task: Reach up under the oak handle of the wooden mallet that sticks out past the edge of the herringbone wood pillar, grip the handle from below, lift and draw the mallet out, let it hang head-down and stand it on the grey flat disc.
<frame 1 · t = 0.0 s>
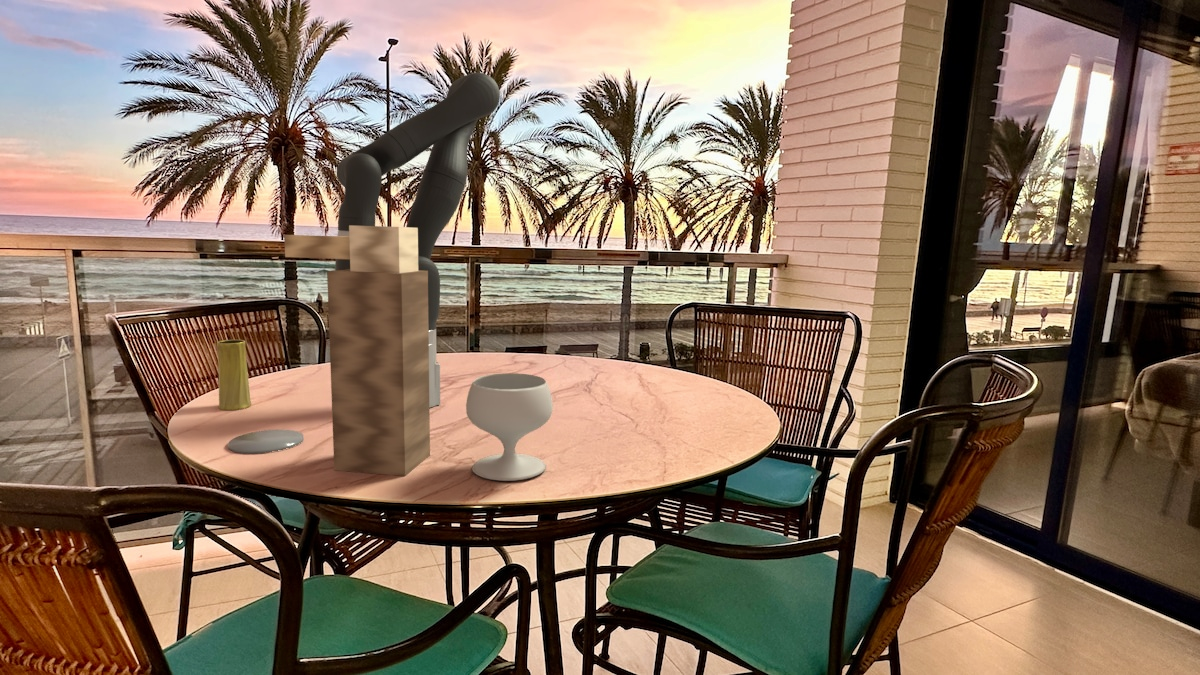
hand: (352, 333, 132), 17 cm above the table, tool pointing down, fingers open, 8 cm apart
mallet: (385, 271, 101), point 32 cm above the table, touching herringbone wood pillar
vase: (235, 407, 137), on the table
herringbone wood pillar: (384, 462, 107), on the table
chalice: (509, 470, 105), on the table
grey flat disc: (266, 442, 115), on the table
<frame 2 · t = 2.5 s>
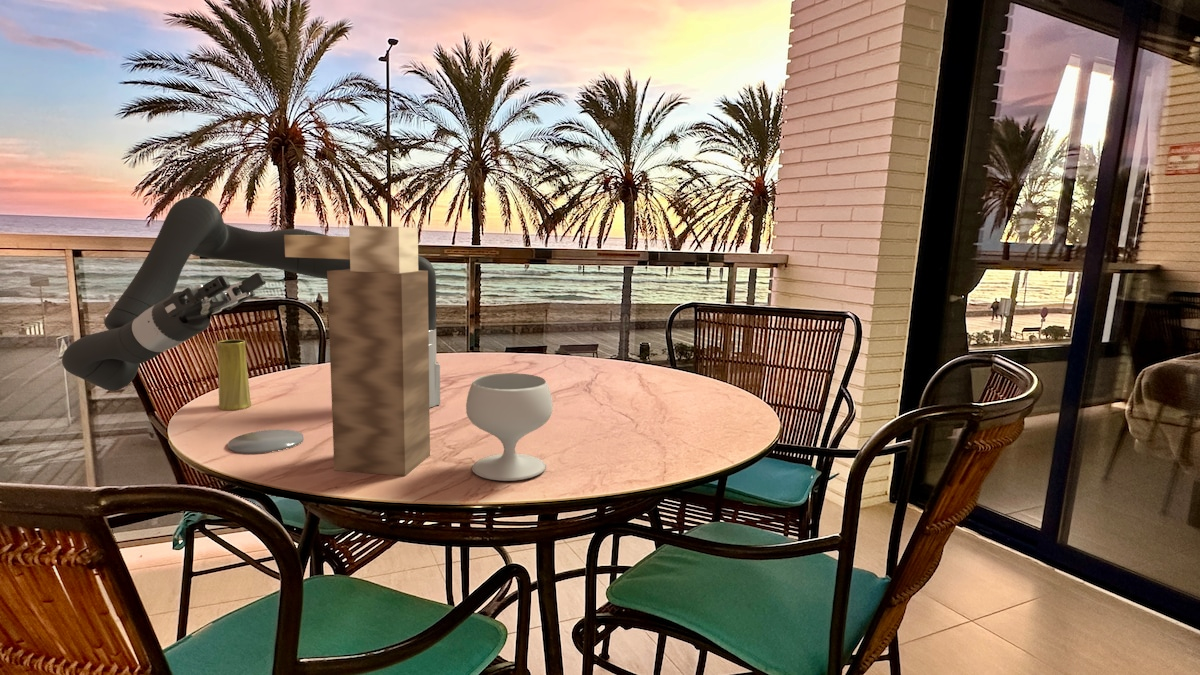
hand: (245, 279, 105), 30 cm above the table, tool pointing upward, fingers open, 8 cm apart
nothing on the table moved.
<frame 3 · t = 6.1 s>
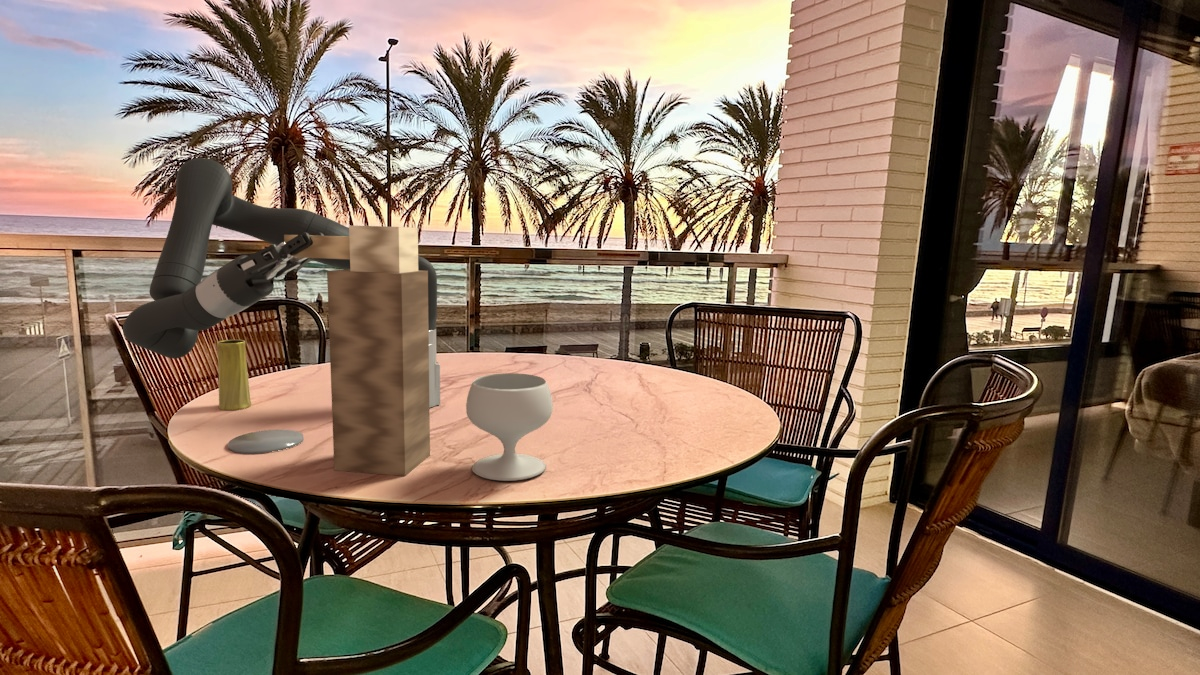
hand: (316, 237, 102), 37 cm above the table, tool pointing upward, fingers closed on mallet, 3 cm apart
mallet: (385, 271, 101), point 32 cm above the table, touching gripper, herringbone wood pillar
everything else where it was.
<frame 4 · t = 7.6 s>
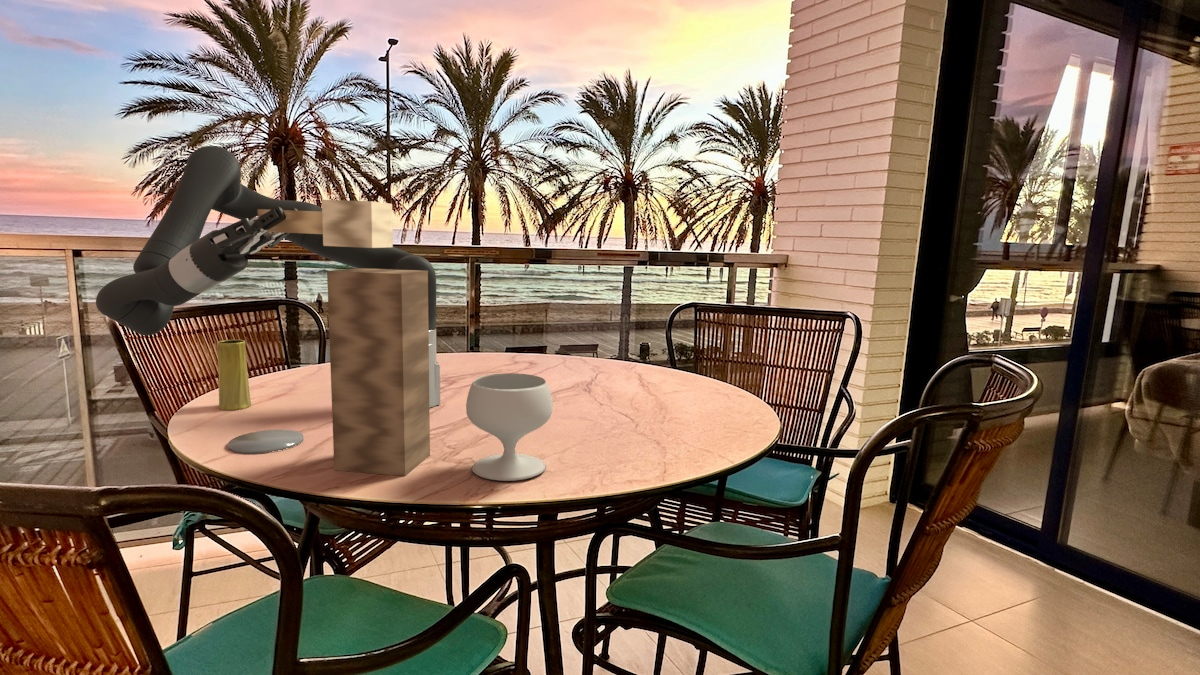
hand: (290, 212, 102), 41 cm above the table, tool pointing upward, fingers closed on mallet, 3 cm apart
mallet: (359, 246, 101), point 36 cm above the table, touching gripper
everything else where it was.
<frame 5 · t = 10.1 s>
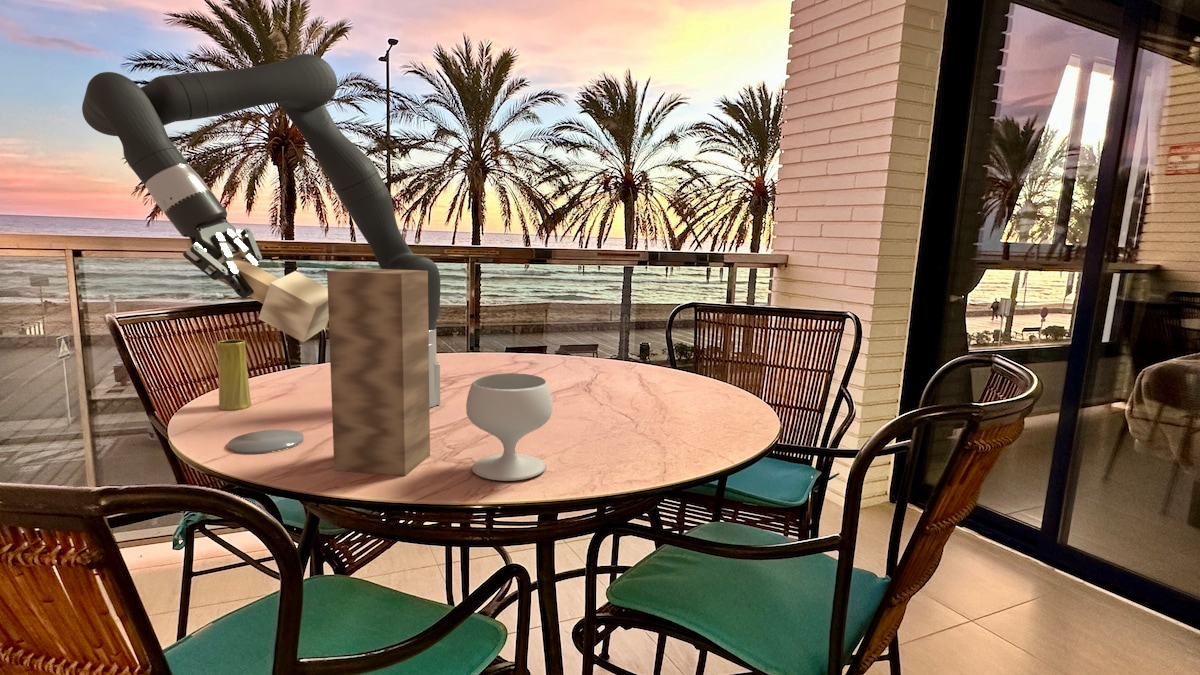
hand: (256, 291, 105), 28 cm above the table, tool tilted 35°, fingers closed on mallet, 3 cm apart
mallet: (293, 323, 106), point 23 cm above the table, tilted 31°, touching gripper
everything else where it was.
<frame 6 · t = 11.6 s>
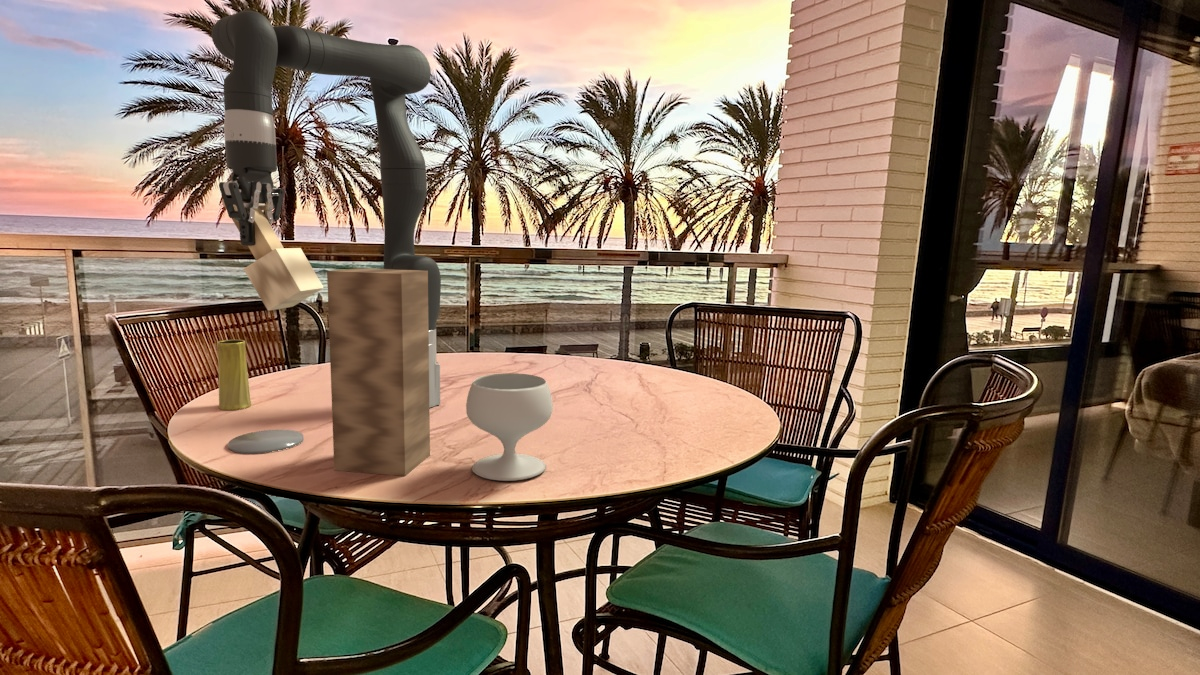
hand: (256, 244, 109), 35 cm above the table, tool pointing down, fingers closed on mallet, 3 cm apart
mallet: (269, 288, 110), point 28 cm above the table, tilted 59°, touching gripper
everything else where it was.
when the fingers open (17 cm above the table, at t = 14.4 s): mallet drops 6 cm, resting on grey flat disc.
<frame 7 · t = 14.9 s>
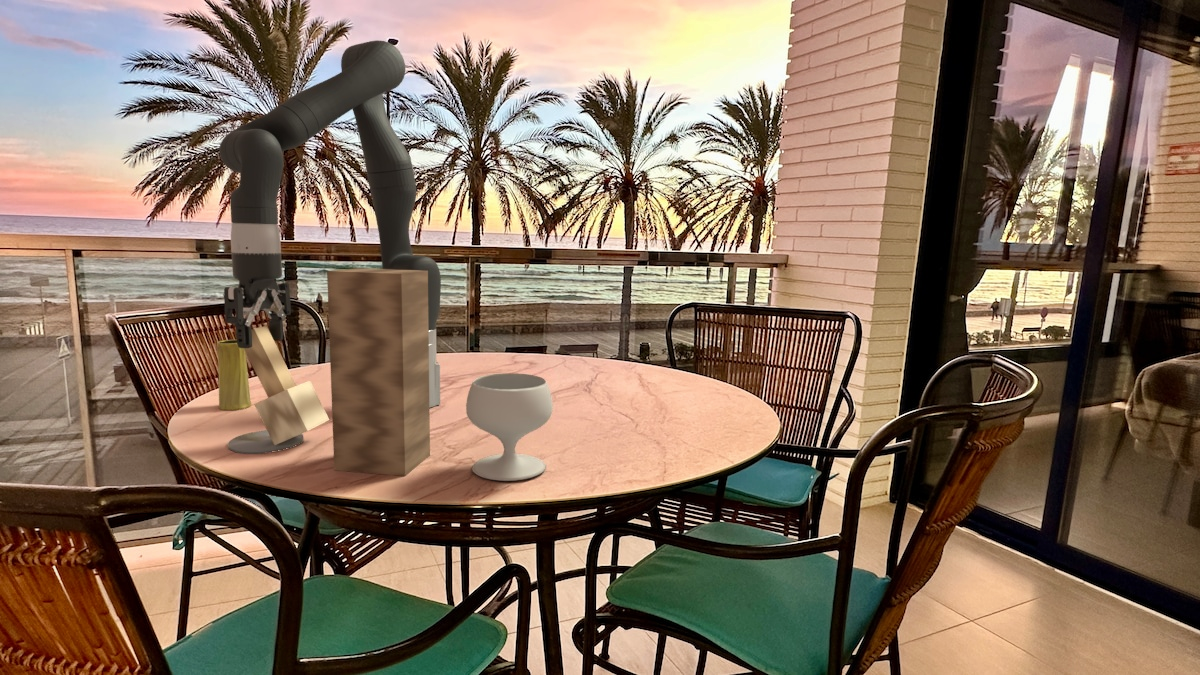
hand: (261, 343, 112), 18 cm above the table, tool pointing down, fingers open, 8 cm apart
mallet: (276, 419, 115), point 4 cm above the table, tilted 64°, touching grey flat disc
everything else where it was.
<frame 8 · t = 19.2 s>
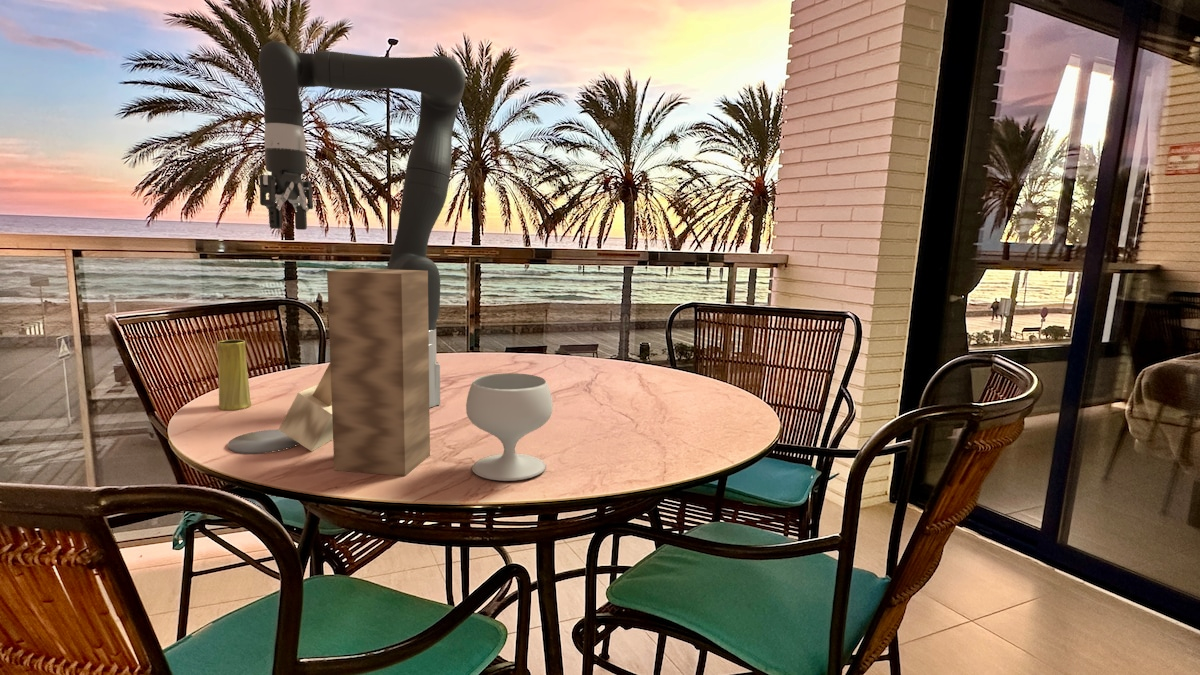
hand: (289, 229, 133), 38 cm above the table, tool pointing down, fingers open, 8 cm apart
mallet: (300, 406, 114), point 7 cm above the table, tilted 120°, touching herringbone wood pillar
everything else where it was.
at the end: mallet inside the target area on the grey flat disc (6.2 cm from its centre), point 6.9 cm above the grey flat disc's base; the gripper is holding nothing; mallet moved 32.3 cm from its start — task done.
